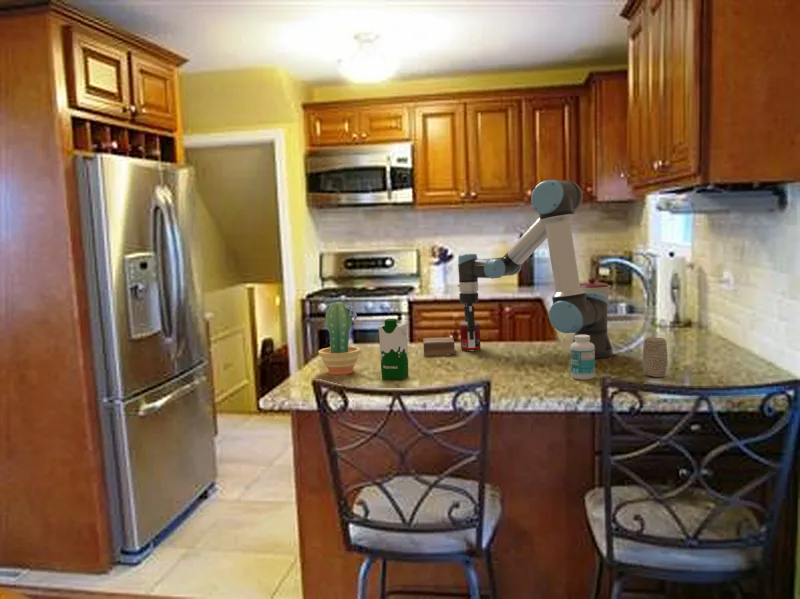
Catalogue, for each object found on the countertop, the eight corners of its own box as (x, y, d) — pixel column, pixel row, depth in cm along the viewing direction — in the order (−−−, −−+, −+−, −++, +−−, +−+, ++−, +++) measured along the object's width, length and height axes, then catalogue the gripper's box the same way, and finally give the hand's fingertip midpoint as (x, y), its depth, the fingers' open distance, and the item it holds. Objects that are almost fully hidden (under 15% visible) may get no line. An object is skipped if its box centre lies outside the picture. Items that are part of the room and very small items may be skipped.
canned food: (479, 351, 264) (478, 324, 263) (459, 351, 265) (458, 324, 264) (481, 347, 271) (480, 321, 270) (461, 348, 273) (460, 321, 272)
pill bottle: (567, 376, 214) (566, 334, 213) (590, 374, 215) (589, 333, 213) (575, 381, 207) (574, 338, 205) (598, 379, 207) (598, 336, 206)
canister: (609, 320, 328) (609, 278, 326) (572, 320, 335) (571, 279, 333) (612, 315, 345) (611, 275, 343) (576, 315, 352) (575, 276, 349)
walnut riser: (454, 354, 259) (454, 341, 258) (424, 356, 259) (423, 343, 258) (453, 349, 271) (452, 336, 270) (423, 350, 271) (423, 338, 270)
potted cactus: (345, 378, 226) (341, 305, 224) (310, 374, 235) (305, 304, 232) (370, 369, 239) (367, 300, 237) (336, 366, 248) (332, 299, 245)
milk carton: (378, 380, 221) (375, 320, 219) (387, 374, 229) (385, 317, 227) (403, 381, 218) (400, 320, 216) (412, 375, 226) (409, 317, 224)
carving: (671, 377, 205) (671, 339, 204) (648, 379, 205) (647, 340, 203) (662, 373, 212) (661, 336, 210) (639, 374, 211) (638, 337, 210)
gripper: (457, 289, 278) (459, 339, 281) (461, 295, 254) (463, 350, 256) (475, 289, 278) (476, 339, 280) (481, 295, 253) (482, 349, 256)
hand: (470, 344), depth 268 cm, fingers open, 13 cm apart
